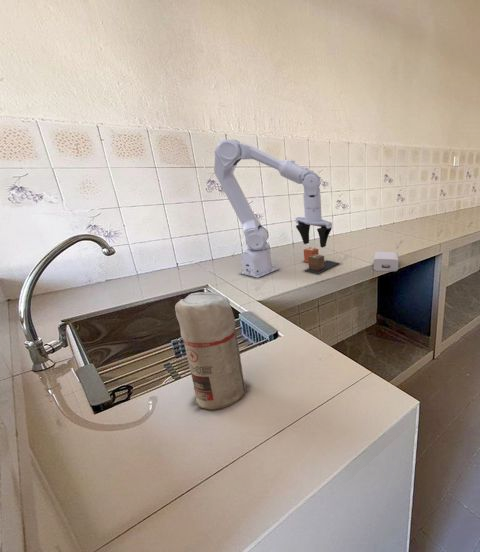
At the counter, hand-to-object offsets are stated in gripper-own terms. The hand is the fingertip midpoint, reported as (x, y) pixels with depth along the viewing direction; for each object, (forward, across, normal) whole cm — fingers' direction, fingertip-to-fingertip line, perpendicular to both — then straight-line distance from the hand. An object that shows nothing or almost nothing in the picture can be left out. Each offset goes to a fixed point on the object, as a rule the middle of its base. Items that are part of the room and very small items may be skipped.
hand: (314, 245), depth 121 cm
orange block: (+9, +7, -6) cm, 13 cm away
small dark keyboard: (+9, -1, -2) cm, 10 cm away
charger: (+9, -20, -18) cm, 29 cm away
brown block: (+9, -1, +1) cm, 9 cm away
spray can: (+9, -28, +62) cm, 68 cm away
